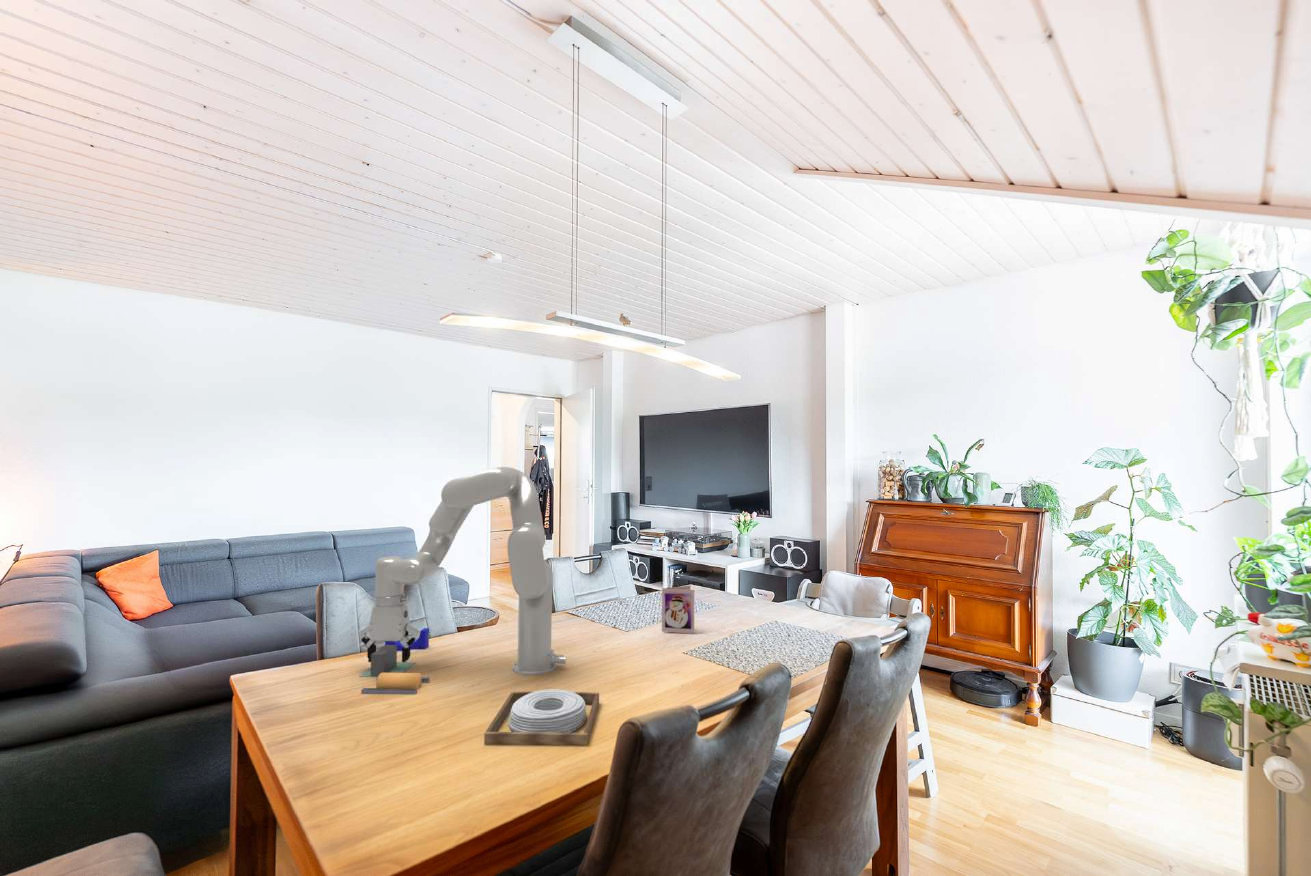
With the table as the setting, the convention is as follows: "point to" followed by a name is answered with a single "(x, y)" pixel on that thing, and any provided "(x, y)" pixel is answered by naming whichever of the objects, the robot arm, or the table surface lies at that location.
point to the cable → (548, 712)
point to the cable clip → (416, 645)
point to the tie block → (383, 660)
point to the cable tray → (539, 737)
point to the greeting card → (678, 609)
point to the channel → (392, 689)
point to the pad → (399, 668)
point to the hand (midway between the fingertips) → (388, 660)
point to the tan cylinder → (399, 680)
